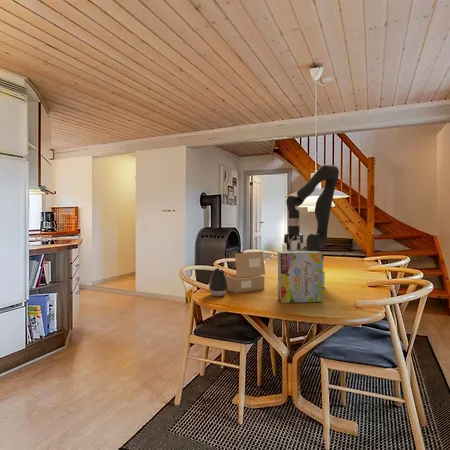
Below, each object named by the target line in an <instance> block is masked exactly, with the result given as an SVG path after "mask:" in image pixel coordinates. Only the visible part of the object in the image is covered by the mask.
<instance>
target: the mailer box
mask: <svg viewBox="0 0 450 450" xmlns="http://www.w3.org/2000/svg"><path fill="white" fill-rule="evenodd" d="M225 277H226V281H227V291H229V292H232V293H234V294H242V293H249V292H250V293H251V292H257V291H263V290H265V275H257V276H248V277H238V278H237V273H235V274H225Z"/></svg>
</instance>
